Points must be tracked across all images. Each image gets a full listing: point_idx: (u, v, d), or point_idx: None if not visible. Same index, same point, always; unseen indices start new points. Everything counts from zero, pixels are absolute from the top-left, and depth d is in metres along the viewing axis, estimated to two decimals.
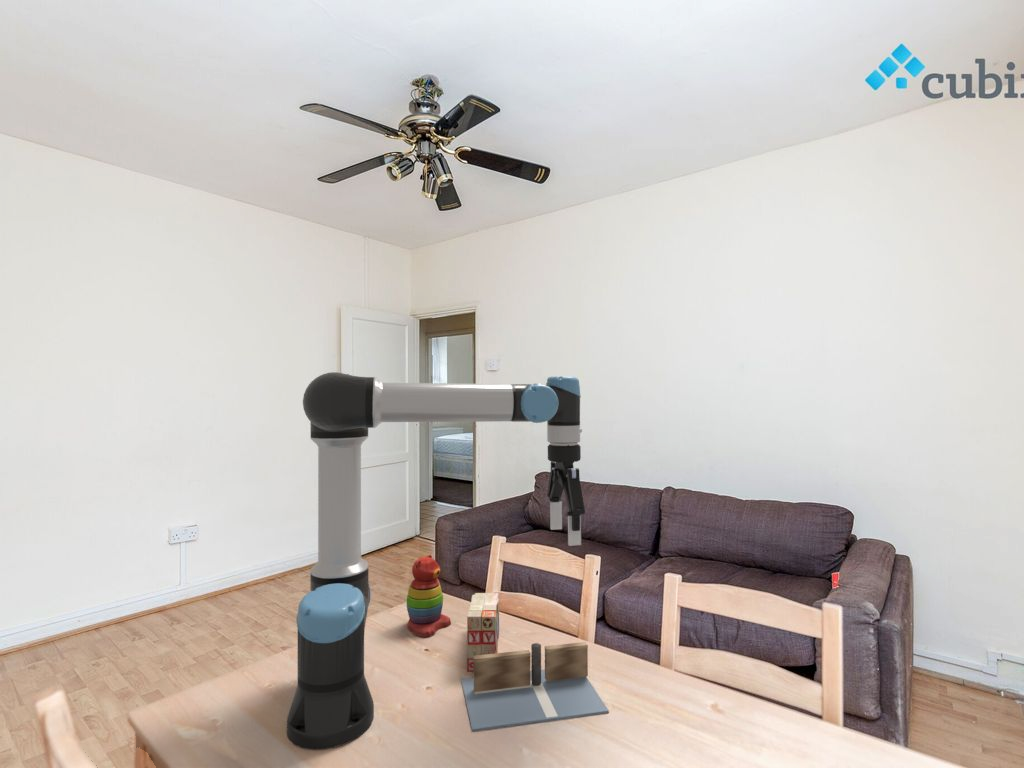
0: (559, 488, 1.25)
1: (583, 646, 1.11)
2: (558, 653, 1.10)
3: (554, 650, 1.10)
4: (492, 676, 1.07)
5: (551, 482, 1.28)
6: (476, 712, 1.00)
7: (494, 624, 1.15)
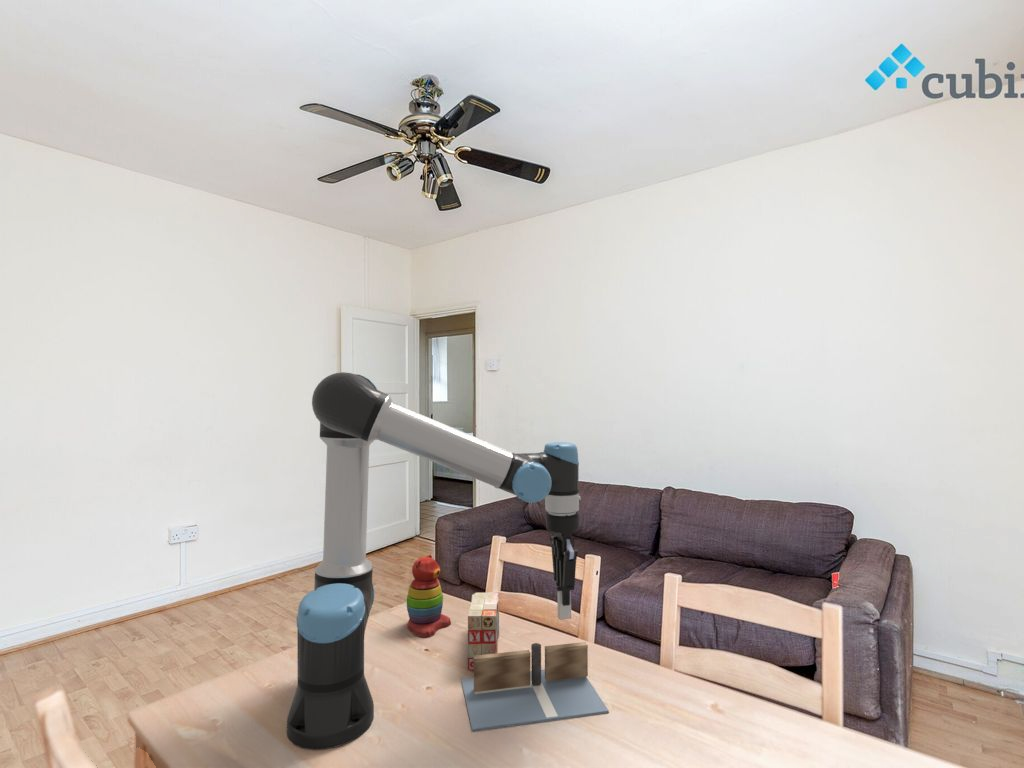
0: None
1: (583, 646, 1.11)
2: (558, 653, 1.10)
3: (554, 650, 1.10)
4: (492, 676, 1.07)
5: (554, 559, 1.22)
6: (476, 712, 1.00)
7: (494, 623, 1.15)
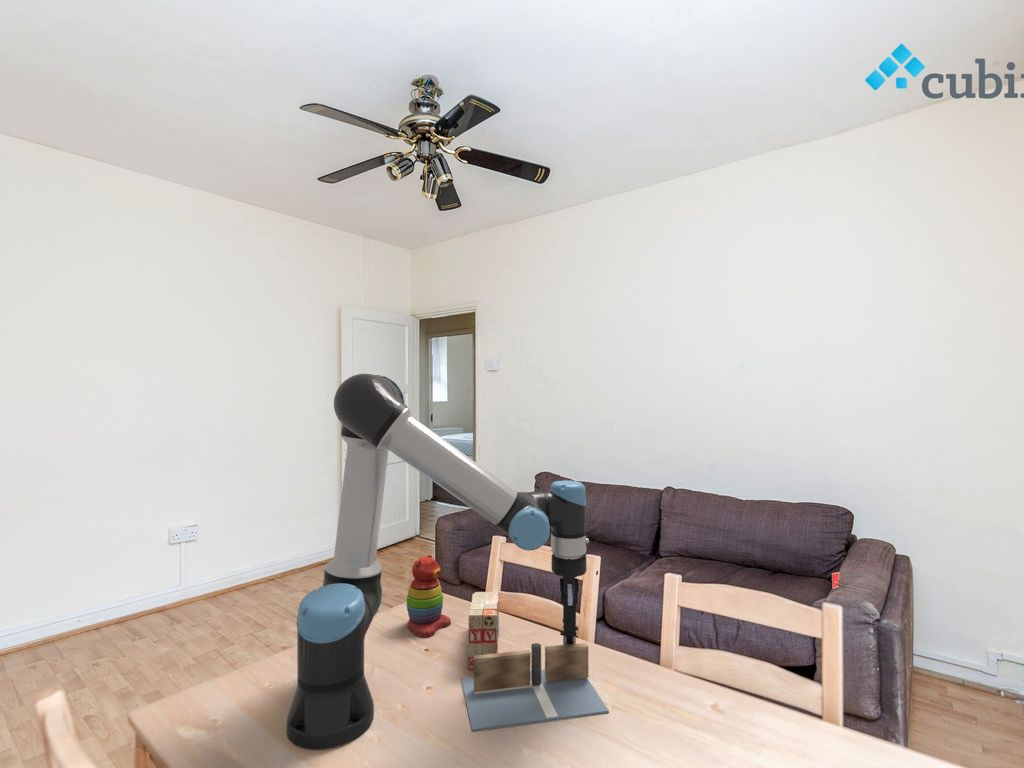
0: None
1: (584, 647, 1.11)
2: (558, 654, 1.10)
3: (554, 650, 1.10)
4: (492, 676, 1.07)
5: None
6: (476, 712, 1.00)
7: (495, 622, 1.16)
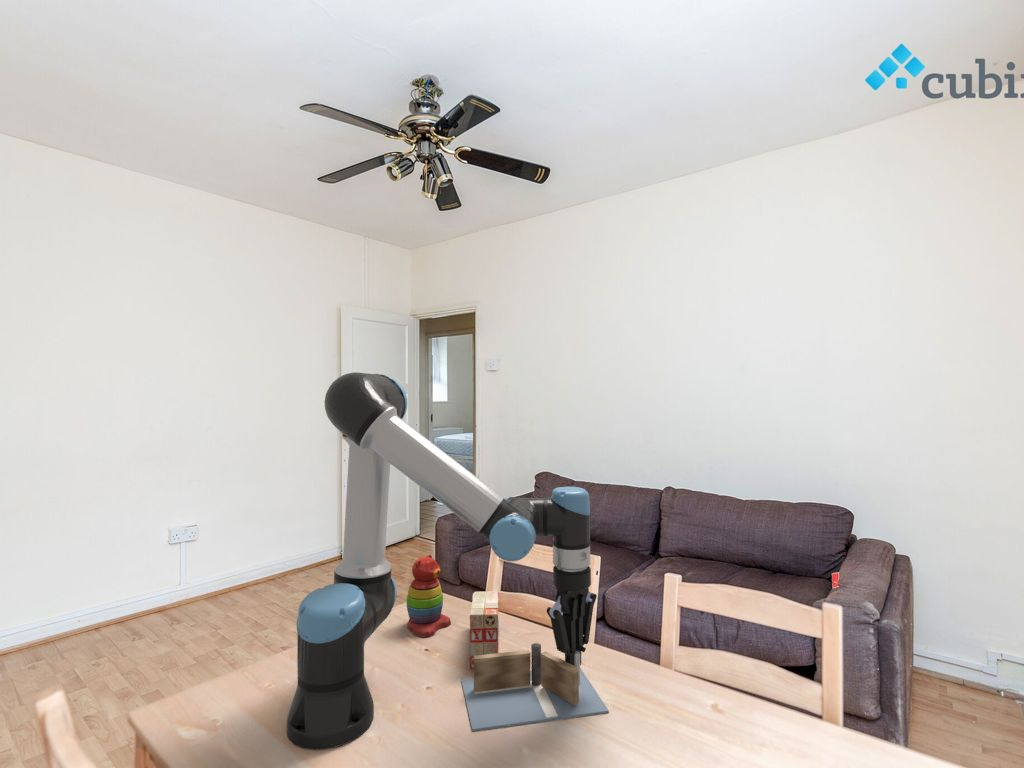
0: (575, 624, 1.06)
1: (570, 669, 1.02)
2: (549, 663, 1.06)
3: (546, 658, 1.06)
4: (492, 676, 1.07)
5: None
6: (476, 712, 1.00)
7: (496, 622, 1.16)
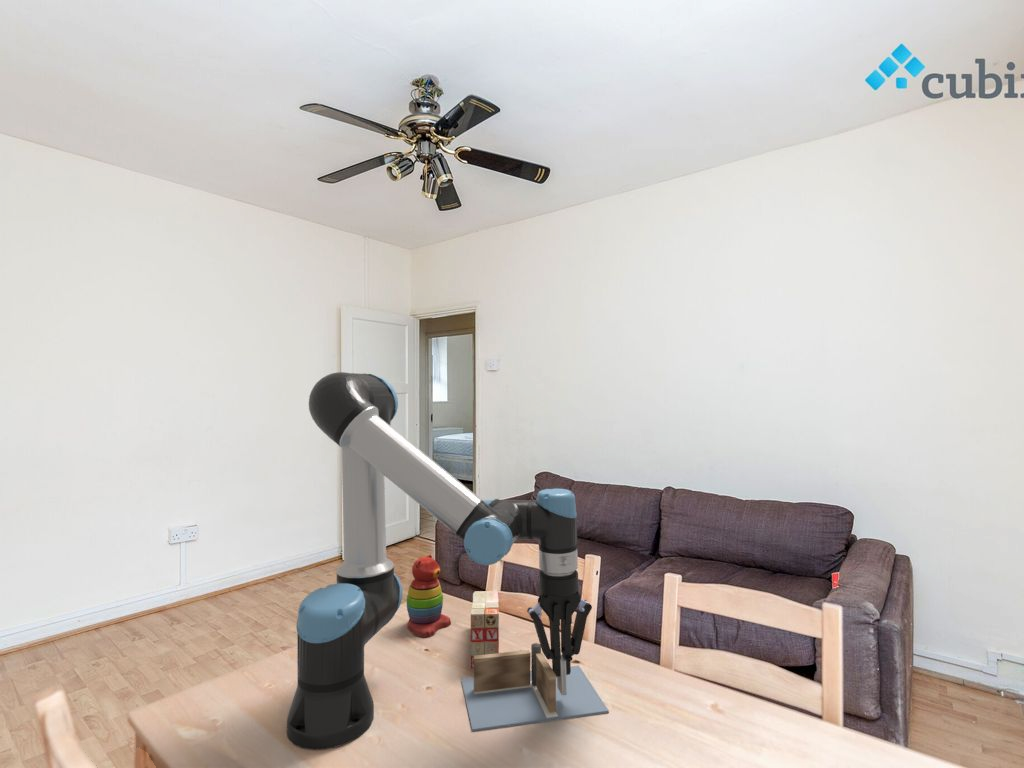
0: (563, 631, 1.03)
1: (547, 675, 1.00)
2: (539, 665, 1.05)
3: (538, 659, 1.06)
4: (492, 676, 1.07)
5: (574, 625, 1.05)
6: (476, 712, 1.00)
7: (497, 621, 1.17)
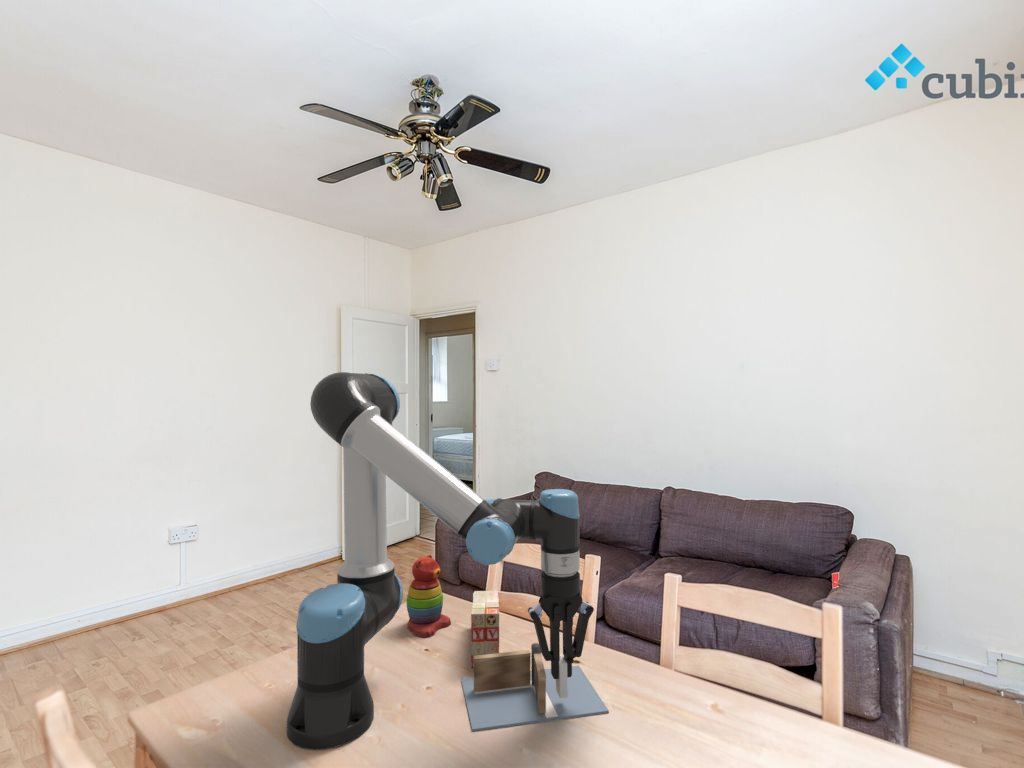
0: (564, 633, 1.02)
1: (538, 676, 1.00)
2: (535, 666, 1.05)
3: (534, 659, 1.06)
4: (492, 676, 1.07)
5: (576, 627, 1.04)
6: (476, 712, 1.00)
7: (498, 621, 1.17)
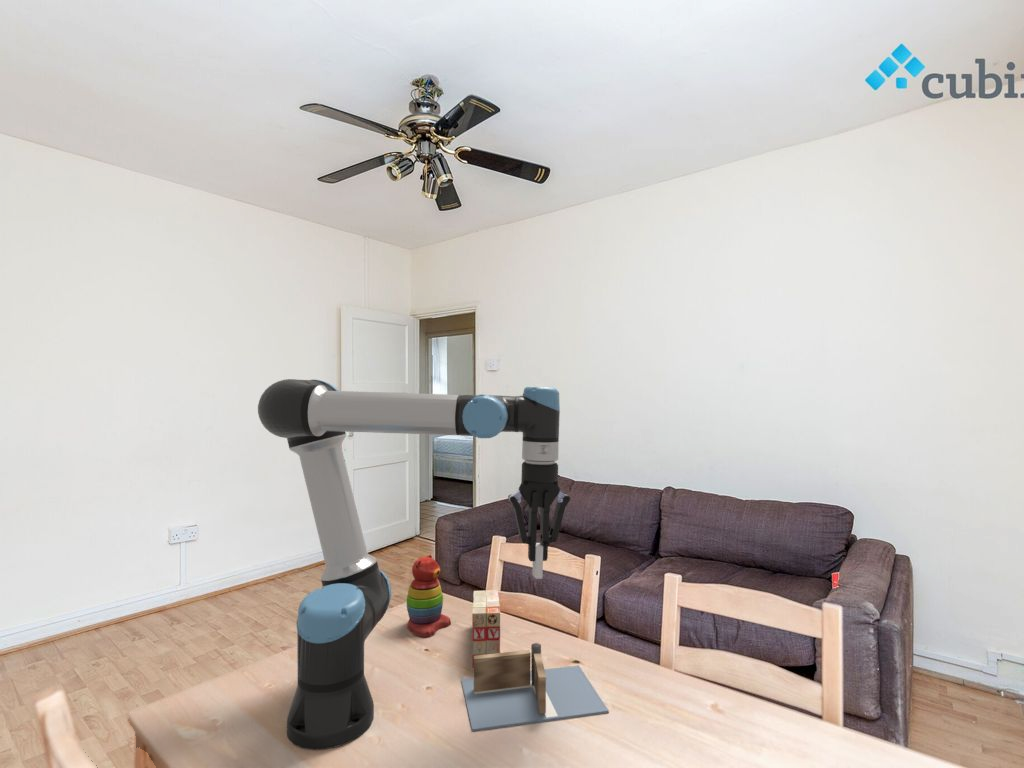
0: (542, 519, 1.09)
1: (538, 676, 1.00)
2: (535, 666, 1.05)
3: (534, 659, 1.06)
4: (492, 676, 1.07)
5: (553, 516, 1.11)
6: (476, 712, 1.00)
7: (499, 620, 1.17)
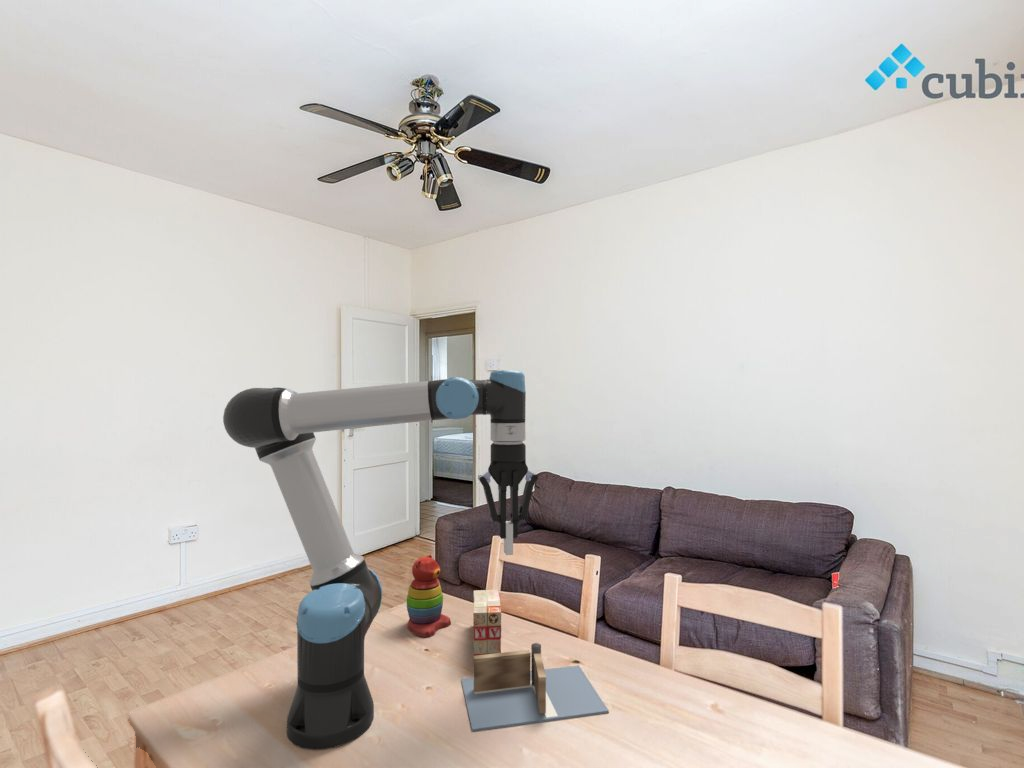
0: (511, 498, 1.13)
1: (538, 676, 1.00)
2: (535, 666, 1.05)
3: (534, 659, 1.06)
4: (492, 676, 1.07)
5: (523, 495, 1.15)
6: (476, 712, 1.00)
7: (500, 619, 1.17)
